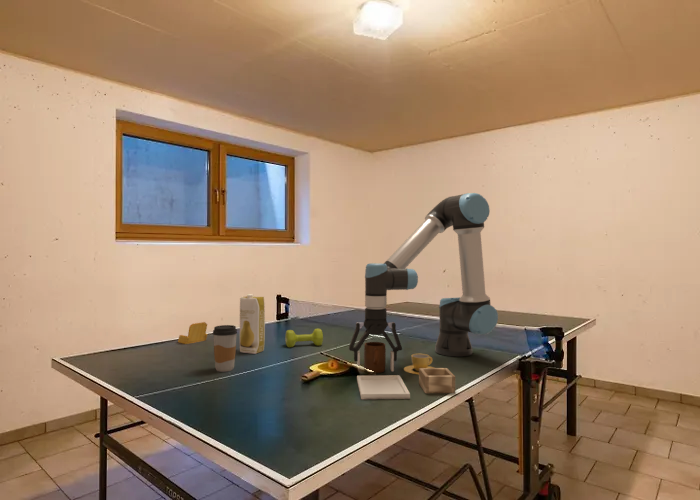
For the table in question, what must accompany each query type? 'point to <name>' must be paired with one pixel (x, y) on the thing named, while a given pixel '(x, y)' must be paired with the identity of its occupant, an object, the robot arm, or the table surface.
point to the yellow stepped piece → (194, 334)
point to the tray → (382, 387)
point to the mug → (375, 356)
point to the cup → (419, 363)
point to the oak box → (436, 380)
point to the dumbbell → (304, 337)
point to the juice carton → (252, 324)
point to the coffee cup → (224, 347)
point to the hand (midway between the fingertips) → (375, 370)
